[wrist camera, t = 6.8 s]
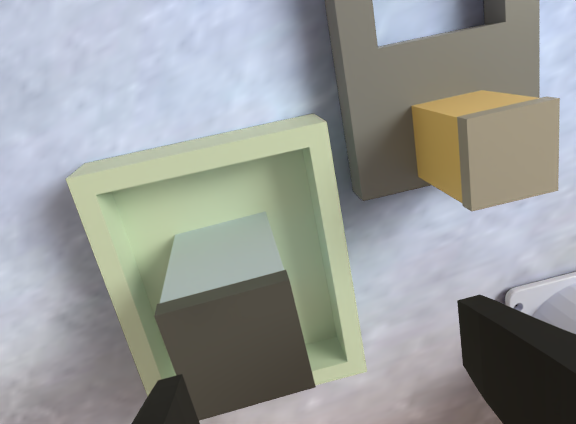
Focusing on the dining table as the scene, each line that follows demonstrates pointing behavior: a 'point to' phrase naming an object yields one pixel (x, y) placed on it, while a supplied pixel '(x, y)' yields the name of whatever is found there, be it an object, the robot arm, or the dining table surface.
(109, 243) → the parts tray
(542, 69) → the dining table surface
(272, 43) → the dining table surface
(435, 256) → the dining table surface
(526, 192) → the block
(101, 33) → the dining table surface
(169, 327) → the grey-green rectangular block
